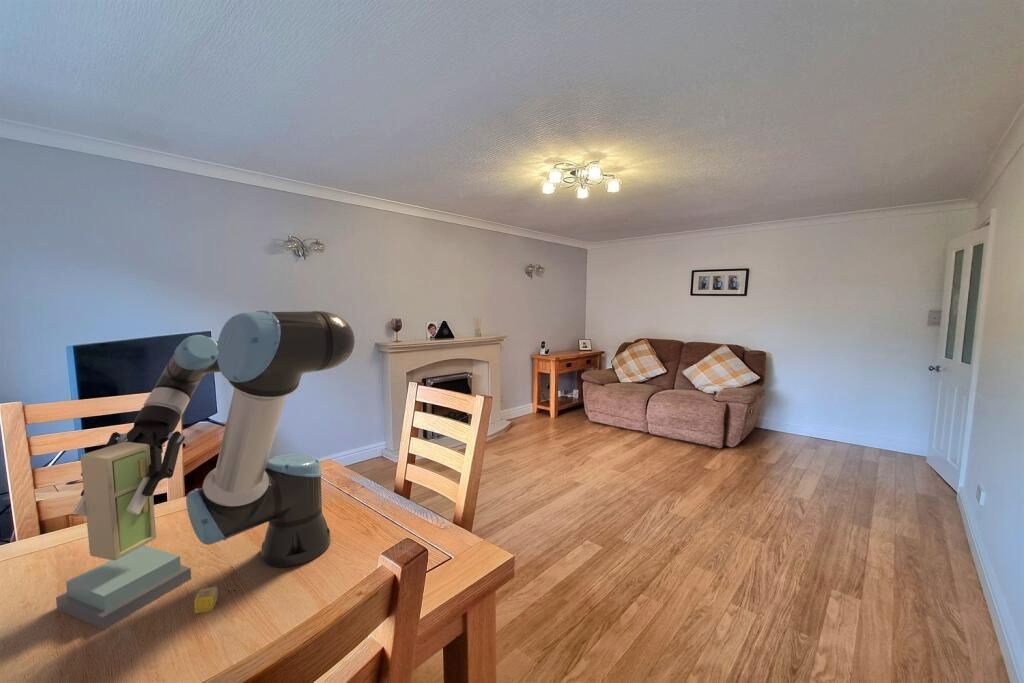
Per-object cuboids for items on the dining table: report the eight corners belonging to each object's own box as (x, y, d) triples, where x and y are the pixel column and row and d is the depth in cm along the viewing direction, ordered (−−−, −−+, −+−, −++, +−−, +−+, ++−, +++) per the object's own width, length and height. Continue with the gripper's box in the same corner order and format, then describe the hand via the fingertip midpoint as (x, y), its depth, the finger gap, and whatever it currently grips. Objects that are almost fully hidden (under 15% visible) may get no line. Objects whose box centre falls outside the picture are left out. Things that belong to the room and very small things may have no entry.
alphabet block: (218, 599, 83) (217, 585, 83) (213, 610, 80) (212, 595, 80) (200, 603, 82) (199, 589, 82) (194, 614, 79) (193, 599, 79)
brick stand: (191, 578, 89) (189, 554, 89) (104, 629, 75) (101, 601, 75) (146, 563, 94) (144, 541, 94) (57, 609, 80) (54, 582, 79)
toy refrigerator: (116, 562, 79) (108, 458, 77) (88, 556, 81) (79, 454, 79) (160, 539, 87) (153, 444, 85) (133, 534, 89) (125, 441, 87)
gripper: (219, 419, 98) (176, 517, 84) (122, 420, 96) (60, 521, 82) (204, 403, 92) (154, 505, 78) (100, 404, 90) (29, 509, 76)
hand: (106, 513), depth 80 cm, fingers closed on toy refrigerator, 9 cm apart
